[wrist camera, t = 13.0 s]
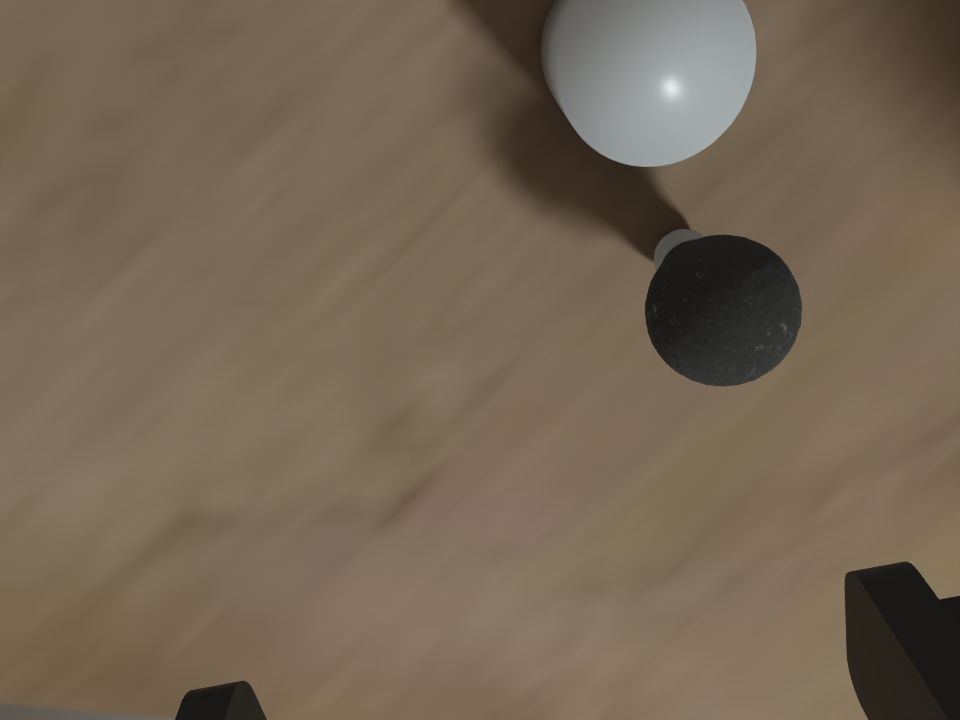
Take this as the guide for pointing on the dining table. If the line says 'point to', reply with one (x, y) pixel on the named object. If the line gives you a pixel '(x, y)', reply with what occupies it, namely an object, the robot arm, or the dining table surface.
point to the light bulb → (721, 307)
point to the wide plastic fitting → (649, 73)
